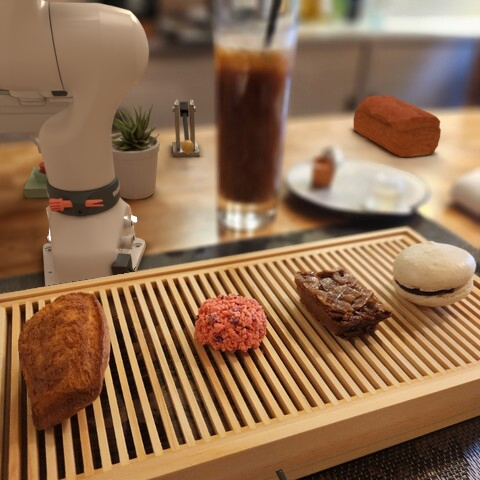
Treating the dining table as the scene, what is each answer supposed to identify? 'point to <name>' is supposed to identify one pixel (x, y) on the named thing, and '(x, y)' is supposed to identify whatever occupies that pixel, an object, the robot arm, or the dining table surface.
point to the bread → (397, 126)
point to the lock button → (42, 167)
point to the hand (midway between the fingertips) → (46, 152)
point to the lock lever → (185, 128)
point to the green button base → (36, 185)
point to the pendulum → (177, 145)
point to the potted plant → (135, 156)
